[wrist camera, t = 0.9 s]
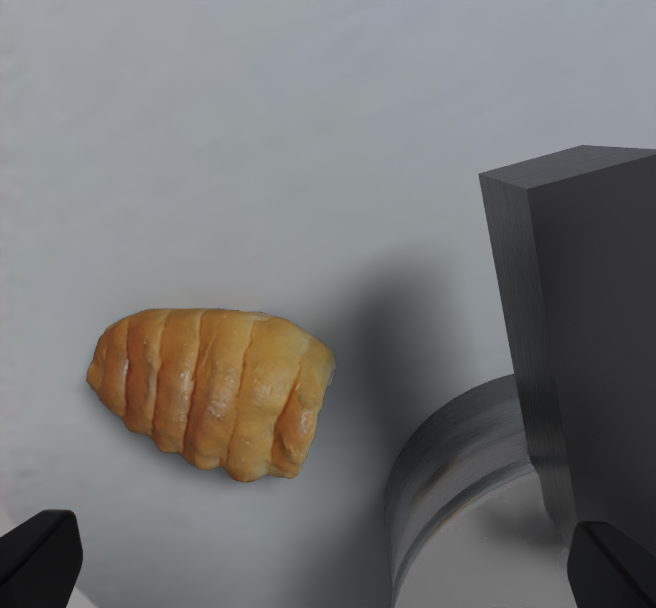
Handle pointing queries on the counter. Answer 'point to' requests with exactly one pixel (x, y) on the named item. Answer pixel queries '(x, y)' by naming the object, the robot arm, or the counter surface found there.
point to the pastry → (216, 386)
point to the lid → (559, 384)
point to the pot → (451, 459)
